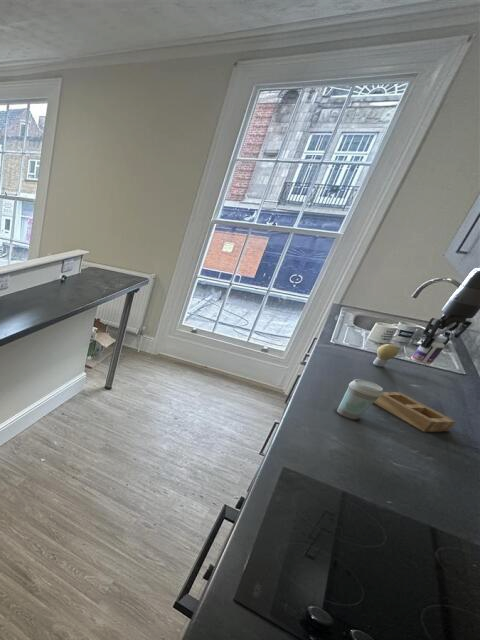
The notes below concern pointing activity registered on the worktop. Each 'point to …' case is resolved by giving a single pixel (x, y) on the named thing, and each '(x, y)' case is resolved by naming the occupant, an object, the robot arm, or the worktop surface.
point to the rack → (414, 412)
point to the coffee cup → (359, 398)
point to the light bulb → (385, 354)
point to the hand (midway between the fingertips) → (431, 347)
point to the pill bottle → (429, 351)
